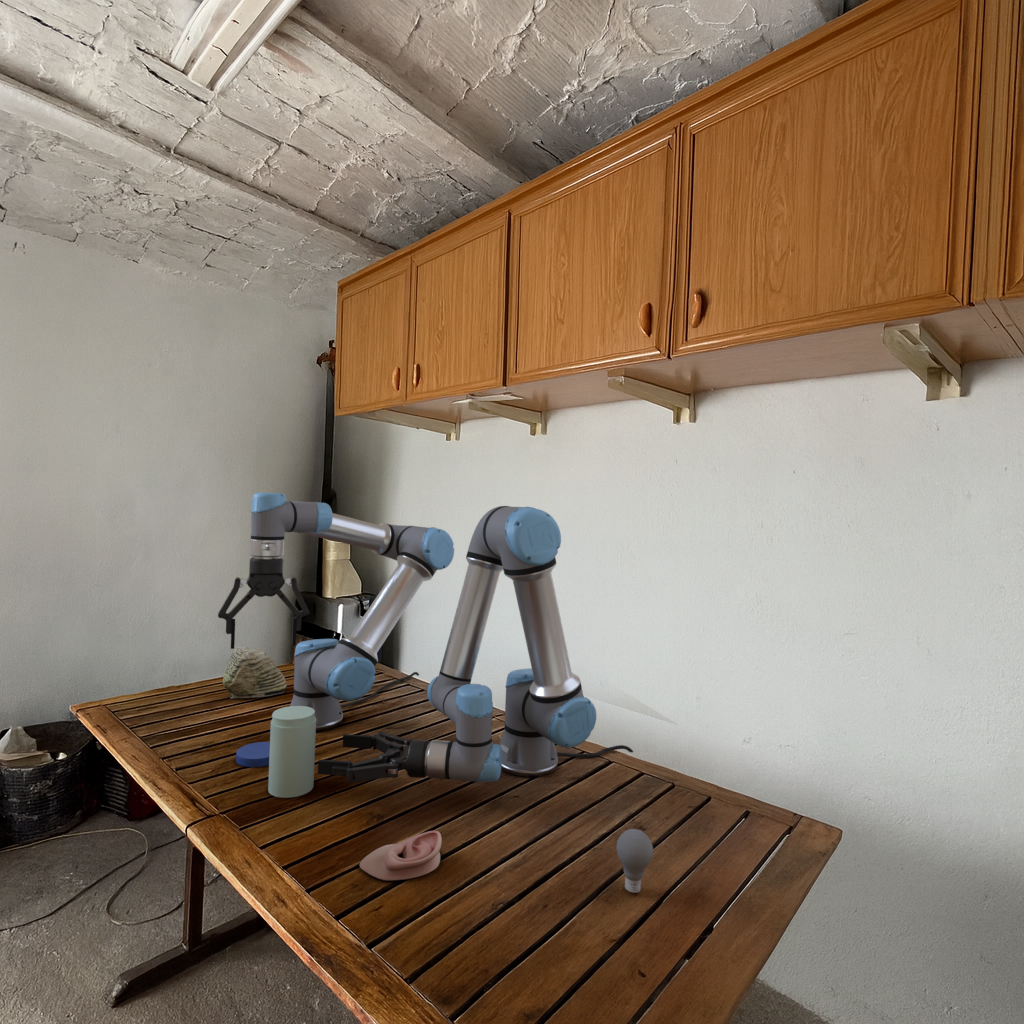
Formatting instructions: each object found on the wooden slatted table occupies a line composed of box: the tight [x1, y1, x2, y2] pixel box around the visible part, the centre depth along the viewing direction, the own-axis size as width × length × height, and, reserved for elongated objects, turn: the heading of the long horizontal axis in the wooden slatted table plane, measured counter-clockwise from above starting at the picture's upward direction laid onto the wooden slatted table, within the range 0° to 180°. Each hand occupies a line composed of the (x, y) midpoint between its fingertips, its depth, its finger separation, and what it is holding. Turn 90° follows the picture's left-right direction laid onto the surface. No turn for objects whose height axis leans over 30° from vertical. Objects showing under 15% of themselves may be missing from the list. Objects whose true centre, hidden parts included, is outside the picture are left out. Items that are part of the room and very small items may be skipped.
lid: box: [235, 741, 270, 768], centre depth 152 cm, size 10×10×2 cm
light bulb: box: [615, 828, 654, 894], centre depth 106 cm, size 6×6×10 cm
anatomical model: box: [359, 830, 443, 882], centre depth 111 cm, size 13×4×12 cm
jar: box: [267, 705, 317, 799], centre depth 137 cm, size 9×9×16 cm
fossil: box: [222, 646, 288, 699], centre depth 198 cm, size 9×18×15 cm, turn 132°
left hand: (263, 646), depth 151 cm, fingers open, 13 cm apart
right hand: (331, 753), depth 136 cm, fingers open, 13 cm apart
